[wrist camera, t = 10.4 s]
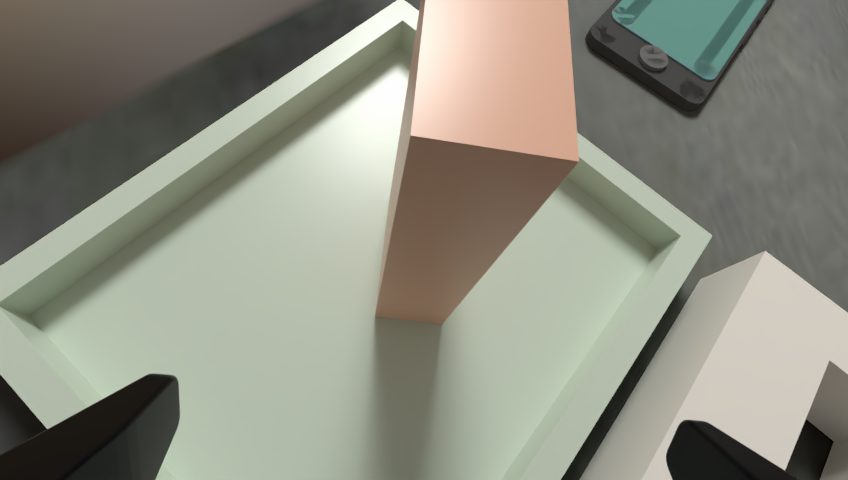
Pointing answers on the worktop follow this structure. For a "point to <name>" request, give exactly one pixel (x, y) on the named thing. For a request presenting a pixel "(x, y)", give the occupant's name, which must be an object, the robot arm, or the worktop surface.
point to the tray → (339, 296)
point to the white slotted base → (739, 374)
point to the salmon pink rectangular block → (474, 146)
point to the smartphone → (675, 42)
